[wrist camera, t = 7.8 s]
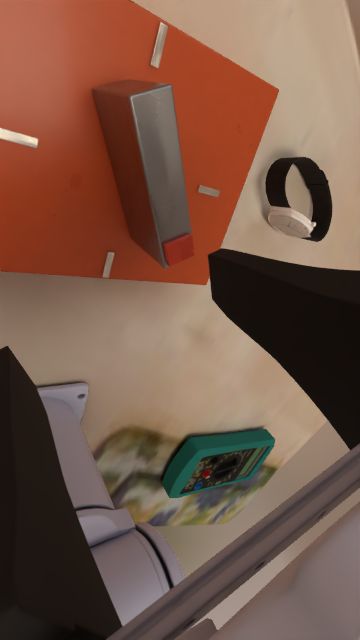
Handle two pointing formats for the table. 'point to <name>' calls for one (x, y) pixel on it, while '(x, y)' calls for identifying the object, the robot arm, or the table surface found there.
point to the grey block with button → (147, 165)
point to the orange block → (89, 143)
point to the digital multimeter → (216, 461)
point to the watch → (281, 210)
